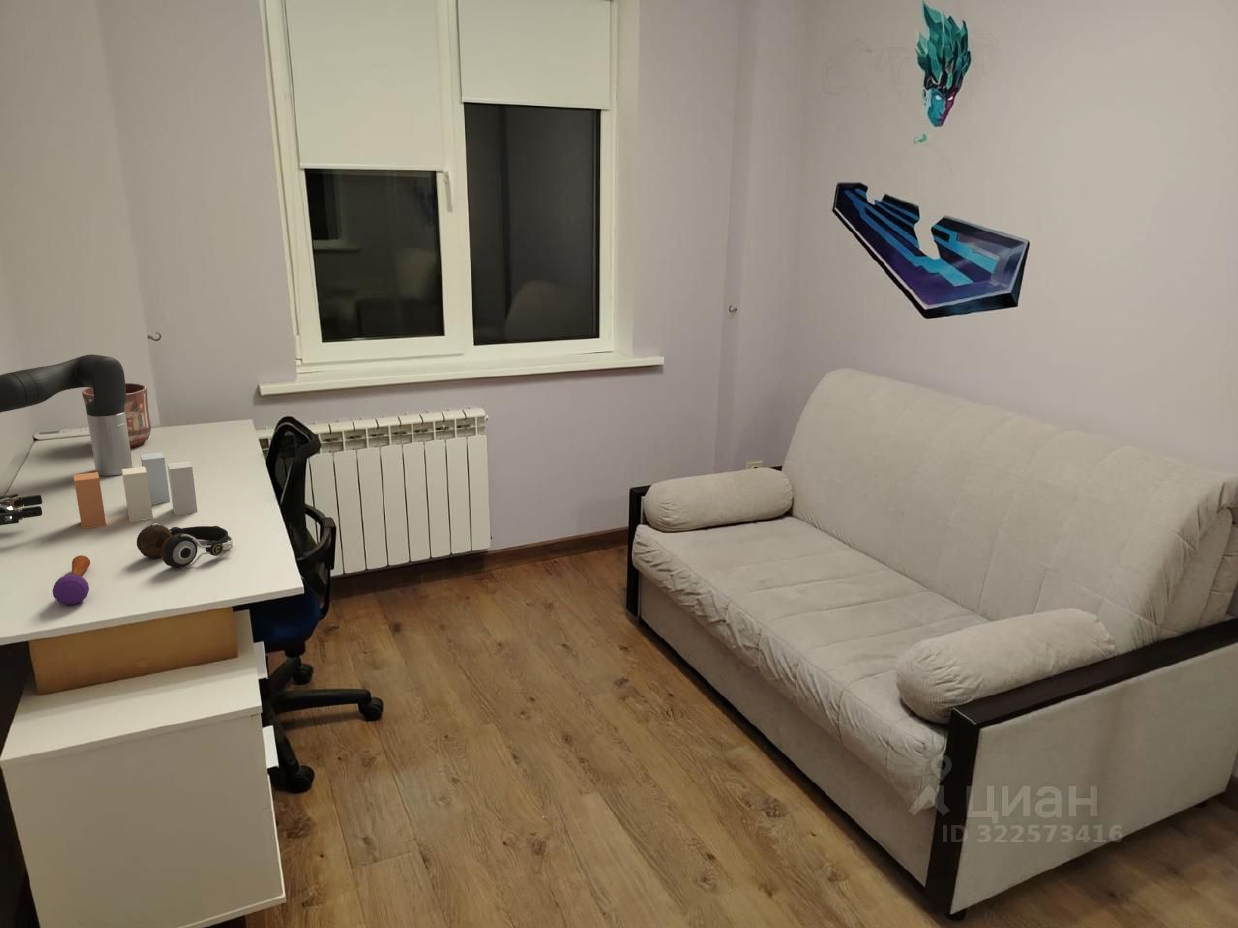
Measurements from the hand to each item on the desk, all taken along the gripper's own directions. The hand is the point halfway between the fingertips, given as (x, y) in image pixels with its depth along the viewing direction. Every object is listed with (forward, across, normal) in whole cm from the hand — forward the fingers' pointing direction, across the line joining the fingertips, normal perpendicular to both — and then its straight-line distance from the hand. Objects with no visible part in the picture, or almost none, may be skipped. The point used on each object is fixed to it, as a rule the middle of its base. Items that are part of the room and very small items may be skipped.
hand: (41, 504), depth 199 cm
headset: (+27, -29, +7) cm, 41 cm away
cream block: (+20, 0, +6) cm, 21 cm away
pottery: (+21, +70, +7) cm, 73 cm away
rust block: (+10, 0, +6) cm, 12 cm away
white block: (+25, +11, +6) cm, 28 cm away
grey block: (+30, 0, +6) cm, 30 cm away
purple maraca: (+5, -38, +7) cm, 39 cm away
